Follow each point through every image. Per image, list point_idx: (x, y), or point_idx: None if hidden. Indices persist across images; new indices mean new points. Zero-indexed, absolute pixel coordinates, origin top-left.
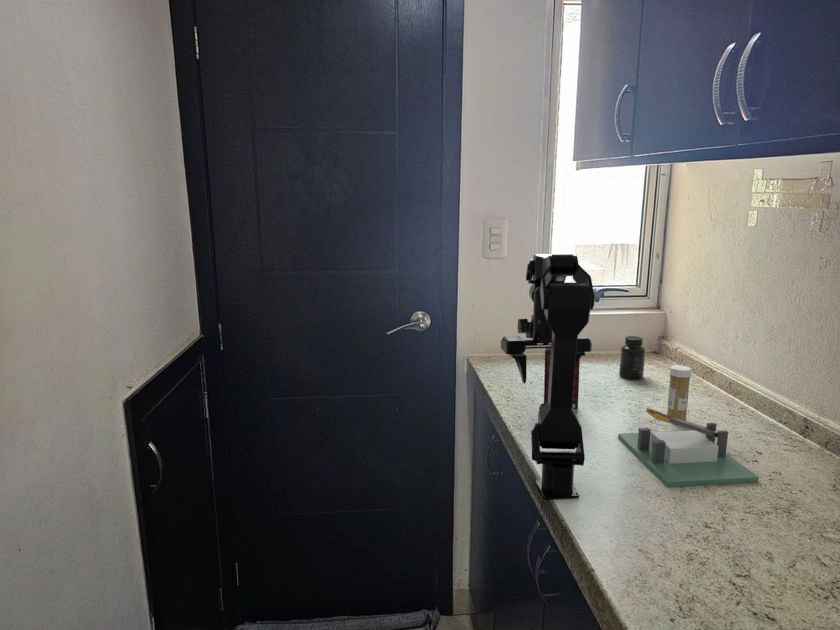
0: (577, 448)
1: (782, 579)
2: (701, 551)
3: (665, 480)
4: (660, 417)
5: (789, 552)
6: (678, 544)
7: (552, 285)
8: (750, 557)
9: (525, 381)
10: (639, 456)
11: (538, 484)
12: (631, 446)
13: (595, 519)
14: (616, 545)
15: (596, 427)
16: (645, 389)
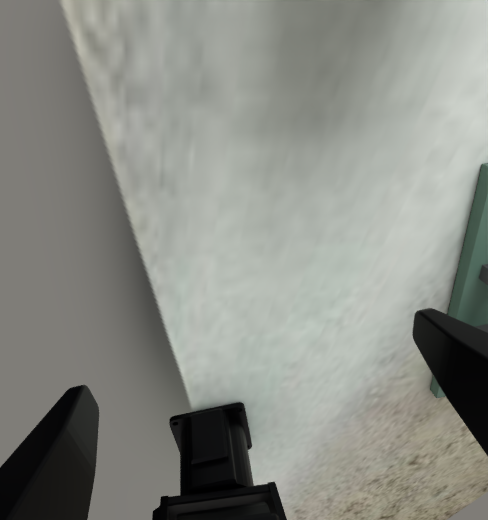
0: (271, 512)
1: (422, 513)
2: (370, 499)
3: (436, 390)
4: None
5: (468, 482)
6: (350, 495)
7: None
8: (418, 496)
9: (94, 429)
10: (456, 297)
11: (174, 433)
12: (471, 259)
13: (260, 478)
14: None
15: (463, 59)
16: None
